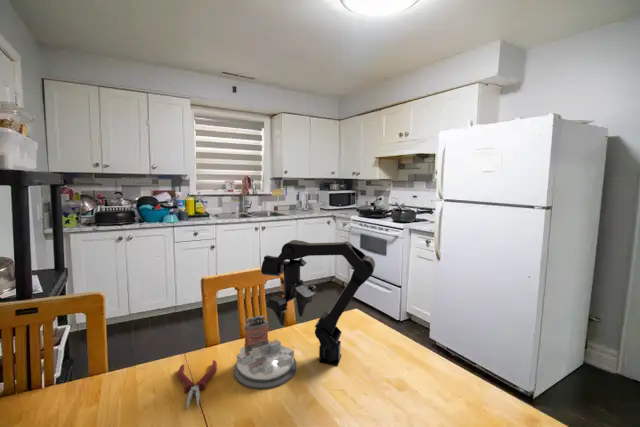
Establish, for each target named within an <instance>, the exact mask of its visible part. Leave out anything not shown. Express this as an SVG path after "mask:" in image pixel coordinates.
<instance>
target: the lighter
mask: <svg viewBox="0 0 640 427" xmlns="http://www.w3.org/2000/svg"><path fill="white" fill-rule="evenodd" d="M265 319H266V318H265V315H260V316H259V315H255V316H254V317H247V318H246V320H245V321H246V324H244V326H243V327H244V339H245V340H244V347H245V349H254V348H258V347H261V346H264V345H267V344H268V340H269V339H268V338H269V337H268V336H269V335H268V334H269V333H268V329H269V328H268V326H269V321H268V320H265Z"/></svg>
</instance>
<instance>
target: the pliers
mask: <svg viewBox="0 0 640 427" xmlns="http://www.w3.org/2000/svg"><path fill="white" fill-rule="evenodd" d="M217 365H218V364H217V361H216V360H214V359H213V360H212V365H211V368H210V369H209V370H207V372H206V373H205V374H204V375H203V376H202V377H201V378H200V379H199V380H198V381H196V383H194V382H193V381H192V380H191V379H190V378H189V377H187V375H186V374H185V373H184V371H185V364H181V365H179V366H180V367H179V369H178V371H177V378H178V380H179V381H180V383H181V384H182V385H183V386H184V387H183V392H184V394H188V395H187V398H186V399H187V400H186V409H185V410H188V408H189V406H190V405H191V403H192V401H193V396H195V400H196V405H197V406H196V407H199V406H200V405H199V404H200V399H201V394H200V393H201V391H206V389H207V383H209V381H210V380H211V379H212V378H214V376H215V374H216V373H217V370H218V368H217Z"/></svg>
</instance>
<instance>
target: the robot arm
mask: <svg viewBox="0 0 640 427" xmlns="http://www.w3.org/2000/svg"><path fill="white" fill-rule="evenodd" d="M309 256H310V257H311V256H315V257H318V256H342V257H344V258H345V260H346V261H347V262H348V264H349V265H350V266H351V267H352V268H353V272H352V274H351V277H350V279H349V281H348V283H347V284H346V286H345V288H344V289H343V290H342V292H341V293H340V295H339V297H338V298H337V300H336V302H334V304H333V307H332V308H331V310H329V311H326V310H324V311H323V313H322V315H321V316H320V317H319V319H318V320H317V321H316V323H315V325H314V328H315V330H314V334H315V337H316V339H318V342H319V346H318V348H319V350H318V353H319V354H318V357H319V361H318V362H319V364H326V365H332V366H339V363H340V361H341V358H342V354H341V348H342V347H341V343H342V342H341V340H340V337H341V335H342V334H343V333H342V330H340V329H339V327H338V326H337V325H338V322H339V319H340V317H342V314H343V313H344V312H345V310H346V308H347V306H348V305H349V304H350V302H351V300H352V299H353V297H354V296H355V294H356V293H357V292H358V289H359V288H360V287H361V286H362V285H364V284H365V283H366V282H367V280H368V279H369V278H370V277H371V276H372V275H373V273H374V270H375V267H376V261H375V260H374V259H373V257H372V256H370V255H366V254H365V253H364V252H363V251H362V250H361V249H359V248H357V247H355V246H354V245H353V244H352V243H351V242H350V241H343V242H340V241H337V242H307V241H303V240H300V239H299V240H297V239H293V240H290V241H288V242H286V243H285V244H283V245H282V248H281V252H280V254H279V255H278V256H274V255H273V256H272V255H268V254H266V255H265V256H264V257H263V261H262V264H261V267H260V270H261V271H260V272H261V274H262V275H263V276H270V277H280V276H281V275H282V274H283V279H281V280H280V283H281V284H283V290H282V291H280V295H282V297H280V296H278V295H275V296H272V297H270V298H268V299H266V308H268V309H271V310H272V311H273V313H274V314H275V316H276V318H277V321H278V322H279V324H280V325H281V326H283V327H284V325H285V322H286V321H285V318H286V315H285V314H286V312H287V310H288V308H287V307H288V302H291V301H293V300H296V306H297V313H298V316H299V317H300V318H302V317H303V316H304V312H305V309H306V306H307V304H309V303H312V302H313V299H314V298H315V297H317V287H316V286H315V285H314V284H312V285H310V286H308V285H305V284H304V280H303V279H301V267H305V266H306V264H307V261H306V260H304V259H303V258H305V257H309Z"/></svg>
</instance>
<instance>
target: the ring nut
mask: <svg viewBox="0 0 640 427" xmlns="http://www.w3.org/2000/svg"><path fill="white" fill-rule="evenodd" d="M239 350H240V351H239V353H237V354H236V363H237V371H238V373H239V375H240V376H241V377H243V378H244V379H247V380H249V381H253V382H269V381H274V380H277V379H280V378H282V377H284V376H285V375H287V374H288V373H289V372H290V371H291V370H292V368H293V365H294V358H295V356H294V355H295V354H294V352H295V351H294V350H293V349H292V348H290V347H286V346H283V345H282V344H281V341H280V340H278V339H277V338H276V339H272V340H269V339H268V344H267V345H264V346H261V347H258V348H254V349H245V346H243V347H241V348H240V349H239Z"/></svg>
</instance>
